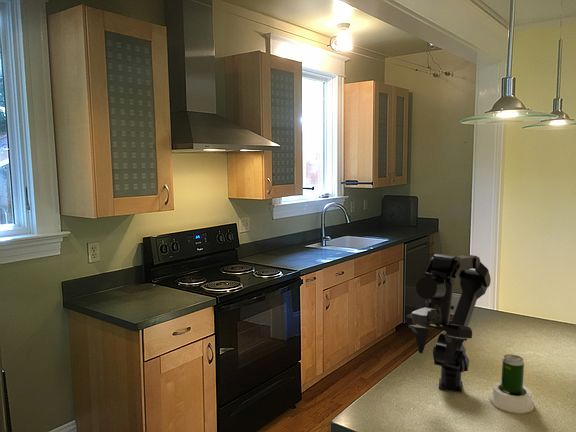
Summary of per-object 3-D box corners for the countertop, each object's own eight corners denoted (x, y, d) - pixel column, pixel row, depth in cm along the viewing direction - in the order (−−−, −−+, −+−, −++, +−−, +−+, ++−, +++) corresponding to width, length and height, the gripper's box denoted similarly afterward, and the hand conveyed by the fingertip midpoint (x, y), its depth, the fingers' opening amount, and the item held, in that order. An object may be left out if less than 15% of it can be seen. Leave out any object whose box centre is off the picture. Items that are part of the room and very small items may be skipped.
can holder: (488, 391, 138) (489, 378, 138) (531, 397, 134) (531, 383, 134) (490, 409, 128) (491, 395, 127) (536, 417, 124) (537, 402, 124)
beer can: (516, 406, 127) (518, 363, 126) (496, 399, 131) (498, 357, 130) (525, 400, 131) (527, 358, 129) (506, 393, 135) (508, 352, 133)
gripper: (395, 292, 135) (387, 348, 133) (448, 303, 119) (440, 366, 117) (422, 295, 140) (415, 349, 139) (476, 306, 124) (469, 367, 123)
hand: (433, 357), depth 130 cm, fingers open, 9 cm apart
